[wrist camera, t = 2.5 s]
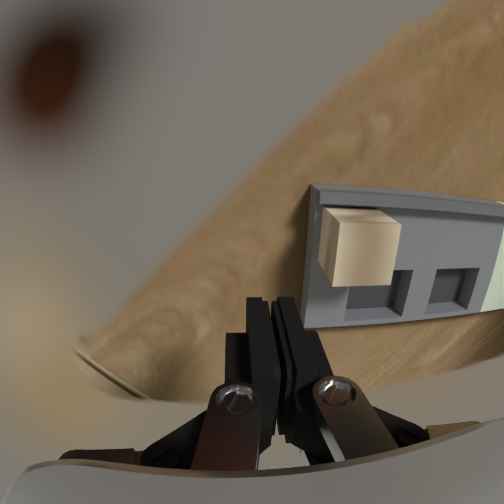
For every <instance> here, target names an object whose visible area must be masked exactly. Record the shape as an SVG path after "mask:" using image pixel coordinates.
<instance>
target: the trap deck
mask: <svg viewBox="0 0 504 504" xmlns="http://www.w3.org/2000/svg"><path fill="white" fill-rule="evenodd" d="M323 206H342V207H365V208H377V209H378V210H380V211H381V212H383V213H385V214H386V215H388V216H389V217H391V218H392V219H394V220H395V221H397V222H398V223H400V224H401V231H400V237H399V243H398V249H397V255H396V260H395V265H394V270H393V275H392V280H391V285H373V286H340V287H332V285H331V283H330V281H329V280H328V278H327V276H326V274H325V272H324V270H323V269H322V267H321V265H320V263H319V261H318V255H319V245H320V234H321V223H322V210H323ZM502 308H504V202H498V201H492V200H485V199H478V198H471V197H463V196H455V195H447V194H439V193H430V192H420V191H410V190H399V189H387V188H375V187H361V186H345V185H326V184H310V201H309V216H308V230H307V243H306V256H305V267H304V278H303V289H302V299H301V308H300V317H301V320H302V324H303V327H304V328H319V327H338V326H355V325H369V324H382V323H393V322H404V321H414V320H423V319H432V318H441V317H449V316H456V315H463V314H471V313H477V312H484V311H490V310H496V309H502Z"/></svg>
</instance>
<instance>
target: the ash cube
mask: <svg viewBox="0 0 504 504" xmlns="http://www.w3.org/2000/svg"><path fill="white" fill-rule="evenodd" d="M400 231H401V224H400V223H398V222H397V221H395V220H394V219H392V218H391V217H389V216H388V215H386V214H385V213H383V212H381V211H380V210H378V209H377V208H365V207H342V206H323V210H322V223H321V234H320V245H319V255H318V261H319V263H320V265H321V267H322V269H323V270H324V272H325V274H326V276H327V278H328V280H329V281H330V283H331V285H332V287H340V286H373V285H391V280H392V275H393V270H394V265H395V260H396V255H397V249H398V243H399V237H400Z"/></svg>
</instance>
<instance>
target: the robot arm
mask: <svg viewBox="0 0 504 504" xmlns="http://www.w3.org/2000/svg"><path fill="white" fill-rule="evenodd" d="M276 419H277V425H278V432H279V435H285V440H286V443H291V444H293V445H295V446H296V447H298V448H300V450H299V452H300V456H301V459H302V461H303V464H304V466H302V467H293V468H282V469H267V470H258V466H259V456H260V454H261V453H262V452H263V451H264V450H265V449H267V448H268V447H269V446H270V445H271V437H272V435H274V434H275V426H276ZM1 504H504V418H499V419H493V420H489V421H485V422H482V423H480V422H477V421H469V422H462V423H454V424H444V425H432V426H427V427H426V428H425V429H422V428H421V427H420V426H418V425H416V424H414V423H411V422H409V421H406V420H404V419H402V418H399V417H397V416H394V415H392V414H390V413H387V412H385V411H383V410H380V409H378V408H376V407H374V406H372V405H371V404H370V403H369V401H368V399H367V398H366V396H365V395H364V393H363V392H362V390H361V389H360V387H359V386H358V385H357V384H356V383H355V382H354V381H352V380H351V379H349V378H346V377H343V376H334V375H333V373H332V370H331V367H330V365H329V362H328V359H327V357H326V354H325V351H324V349H323V346H322V344H321V341H320V338H319V336H318V333H317V331H315V330H310V331H304V328H303V325H302V322H301V319H300V316H299V313H298V310H297V307H296V304H295V301H294V298H293V297H278V298H277V301H272V304H271V316H270V311H269V306H268V301H262V297H247V298H246V333H226V348H225V383H224V384H222V385H220V386H218V387H217V388H216V389H215V390H213V392H212V394H211V396H210V400H209V403H208V407H207V410H205V411H204V412H202V413H201V414H199V415H198V416H196V417H195V418H193V419H192V420H190V421H189V422H187V423H186V424H184V425H182V426H181V427H179V428H178V429H176V430H175V431H173V432H171V433H170V434H168V435H167V436H165V437H163V438H161V439H160V440H158V441H157V442H155V443H153V444H152V445H150V446H149V447H147V448H146V449H145V450H144V451H135V450H134V448H129V449H104V450H103V449H102V450H84V449H76V450H69V451H67V452H66V453H63V454H62V456H61V457H60V458H59V460H52V461H45V462H40V463H36V464H33V465H30V466H28V467H27V468H25V469H24V470H22V471H21V472H20V473H19V475H17V477H16V478H15V480H14V481H13V482H12V484H11V486H10V487H9V489H8V491H7V493H6V495H5V497H4V499H3V501H2V503H1Z"/></svg>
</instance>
